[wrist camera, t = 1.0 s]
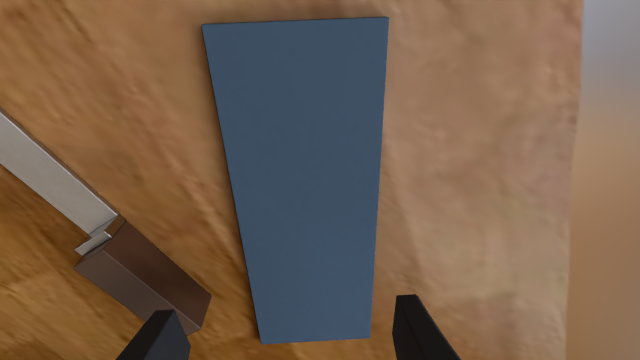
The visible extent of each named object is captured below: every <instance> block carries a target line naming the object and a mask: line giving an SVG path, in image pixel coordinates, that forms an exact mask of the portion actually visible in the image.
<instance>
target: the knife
mask: <svg viewBox="0 0 640 360" xmlns="http://www.w3.org/2000/svg"><path fill="white" fill-rule="evenodd" d="M0 164H2V165H3V166H4V167H5V168H7V169H8V170H9V171H10V172H12V173H13V174H14V175H15V176H17V177H18V178H19V179H20V180H21V181H23V182H24V183H25V184H26V185H28V186H29V187H30V188H31V189H33V190H34V191H35V192H36V193H38V194H39V195H40V196H41V197H43V198H44V199H45V200H46V201H48V202H49V203H50V204H51V205H53V206H54V207H55V208H56V209H58V210H59V211H60V212H61V213H62V214H64V215H65V216H66V217H67V218H69V219H70V220H71V221H72V222H74V223H75V224H76V225H77V226H79V227H80V228H81V229H82V230H84V231H85V232H86V233H87V234H89V235H88V236H87V237H86V238H85V239H84V240H83V241H82V242H81V243H80V244H79V245H78V246H77V247H76V248H75V251H76V252H78V253H79V254H80V255H82V256H83V255H84V256H83V257H82V258H81V259H80V260H79V262H78V263H77V264H76V265H75V266H74V267H73V268H74V269H75V270H76V271H77V272H79V273H80V274H82V275H83V276H84V277H86V278H87V279H88V280H90V281H91V282H92V283H94V284H95V285H97V286H98V287H99V288H101V289H102V290H103V291H105V292H106V293H107V294H109V295H110V296H111V297H113V298H114V299H116V300H117V301H118V302H120V303H121V304H122V305H124V306H125V307H126V308H128V309H129V310H131V311H132V312H133V313H135V314H136V315H137V316H139V317H140V318H141V319H143V320H144V321H147V320H148V319H149V318H150V316H151V315H152V314H153V313H154V312H155V311H156V310H171V309H175V312H176V314H177V316H178V318H179V321H180V323H181V325H182V327H183V330H184V332H185V334H186V336H188V335H190V334H192V333H194V332H196V331H198V330H200V329H201V327H202V324H203V321H204V318H205V315H206V312H207V309H208V306H209V303H210V300H211V295H210V294H209V293H208V292H207V291H206V290H205V289H204V288H202V287H201V286H200V285H199V284H198V283H197V282H196V281H194V280H193V279H192V278H191V277H190V276H189V275H188V274H186V273H185V272H184V271H183V270H182V269H181V268H180V267H178V266H177V265H176V264H175V263H174V262H173V261H172V260H171V259H169V258H168V257H167V256H166V255H165V254H164V253H163V252H161V251H160V250H159V249H158V248H157V247H156V246H155V245H153V244H152V243H151V242H150V241H149V240H148V239H147V238H145V237H144V236H143V235H142V234H141V233H140V232H139V231H138V230H136V229H135V228H134V227H133V226H132V225H131V224H130V223H128V222H127V221H126V219H125V218H124V217H123V216H121V215H120V214H119V212H118V211H117V210H116V209H115V208H114V207H113V206H112V205H110V204H109V203H108V202H107V201H106V200H105V199H104V198H102V197H101V196H100V195H99V194H98V193H97V192H96V191H94V190H93V189H92V188H91V187H90V186H89V185H88V184H87V183H85V182H84V181H83V180H82V179H81V178H80V177H79V176H77V175H76V174H75V173H74V172H73V171H72V170H71V169H70V168H68V167H67V166H66V165H65V164H64V163H63V162H62V161H60V160H59V159H58V158H57V157H56V156H55V155H54V154H53V153H51V152H50V151H49V150H48V149H47V148H46V147H45V146H43V145H42V144H41V143H40V142H39V141H38V140H37V139H36V138H34V137H33V136H32V135H31V134H30V133H29V132H28V131H26V130H25V129H24V128H23V127H22V126H21V125H20V124H19V123H17V122H16V121H15V120H14V119H13V118H12V117H11V116H9V115H8V114H7V113H6V112H5V111H4V110H3V109H2V108H0Z"/></svg>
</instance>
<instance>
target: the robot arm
mask: <svg viewBox="0 0 640 360" xmlns="http://www.w3.org/2000/svg"><path fill="white" fill-rule="evenodd" d="M392 335H393V341H394V346H395V352H396V357H397V360H461V359H460V358H459V356H458V355H457V354H456V352H455V351H454V349H453V348H452V347H451V345H450V344H449V343H448V341H447V340H446V338H445V337H444V336H443V334H442V333H441V331H440V330H439V328H438V327H437V325H436V324H435V322H434V321H433V319H432V318H431V316H430V315H429V313H428V312H427V310H426V308H425V307H424V305H423V304H422V302H421V300H420V299H419V297H418V296H417V295H416V294H414V295H398V296H397V297H396V305H395V314H394V322H393V331H392ZM190 348H191V346H190V343H189V341H188V339H187V337H186V334H185V332H184V330H183V327H182V325H181V323H180V321H179V318H178V316H177V314H176V312H175V309H171V310H156V311H155V312H154V313H153V314H152V315H151V316H150V318H149V319H148V320H147V321H146V323H145V324H144V325H143V326H142V328H141V329H140V330H139V331H138V333H137V334H136V335H135V336H134V338H133V339H132V340H131V341H130V343H129V344H128V345H127V346H126V348H125V349H124V350H123V351H122V352H121V354H120V355H119V356H118V357H117V359H116V360H188V358H189V353H190Z"/></svg>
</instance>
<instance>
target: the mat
mask: <svg viewBox="0 0 640 360" xmlns="http://www.w3.org/2000/svg"><path fill="white" fill-rule="evenodd" d="M388 26H389V17H368V18H343V19H318V20H293V21H268V22H242V23H217V24H202V25H201V27H202V32H203V37H204V43H205V48H206V53H207V59H208V64H209V69H210V75H211V80H212V85H213V91H214V96H215V101H216V107H217V112H218V117H219V123H220V128H221V133H222V138H223V144H224V149H225V154H226V160H227V165H228V170H229V176H230V181H231V186H232V192H233V197H234V202H235V208H236V213H237V218H238V224H239V229H240V234H241V240H242V245H243V250H244V255H245V261H246V266H247V271H248V277H249V282H250V287H251V293H252V298H253V303H254V309H255V314H256V319H257V325H258V330H259V335H260V341H261V344H275V343H292V342H310V341H327V340H345V339H362V338H370V328H371V311H372V294H373V277H374V261H375V244H376V227H377V210H378V194H379V177H380V160H381V143H382V126H383V110H384V93H385V76H386V59H387V42H388Z"/></svg>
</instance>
